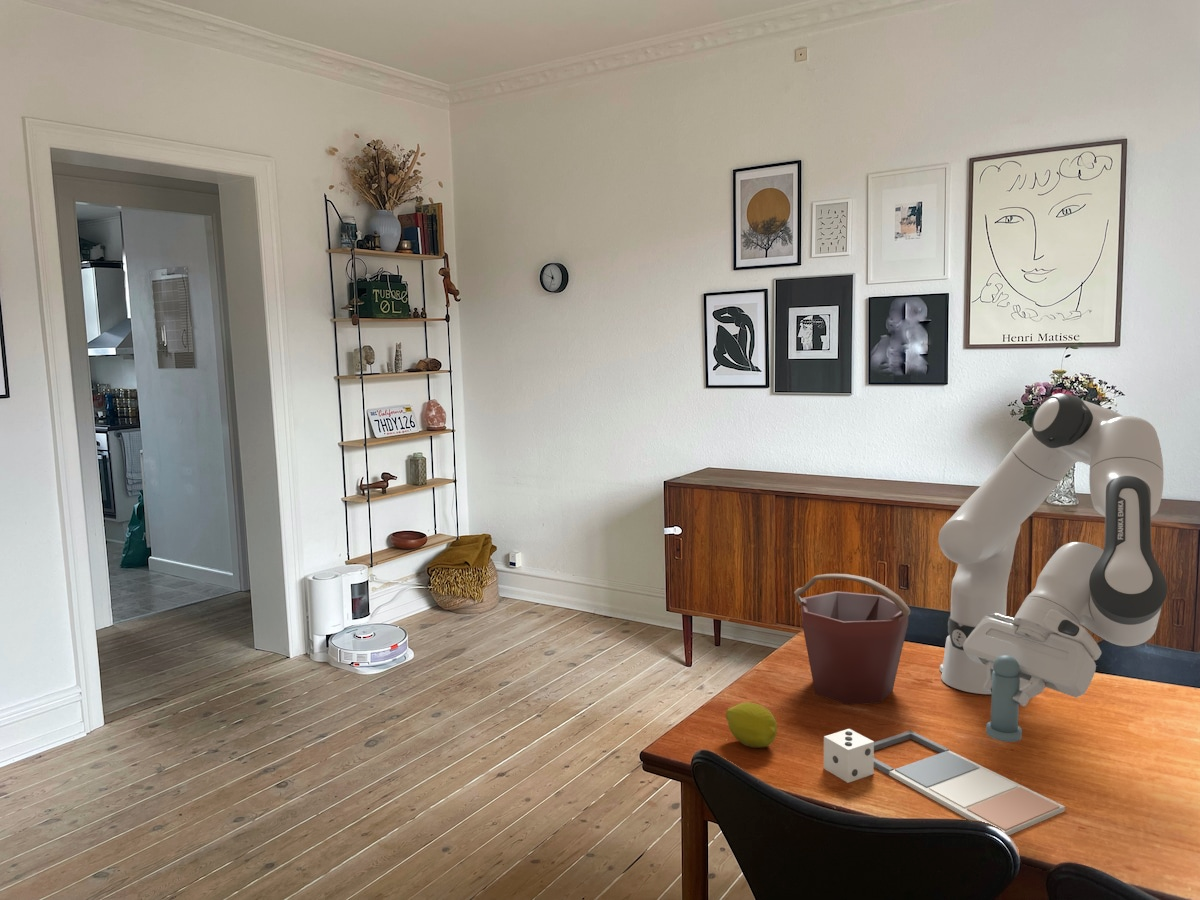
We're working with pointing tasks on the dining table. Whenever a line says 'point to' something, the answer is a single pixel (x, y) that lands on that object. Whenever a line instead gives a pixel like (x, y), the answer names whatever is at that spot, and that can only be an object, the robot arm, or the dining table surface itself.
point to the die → (848, 755)
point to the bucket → (853, 640)
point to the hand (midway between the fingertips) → (1003, 697)
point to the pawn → (1004, 701)
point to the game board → (970, 787)
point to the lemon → (752, 724)
